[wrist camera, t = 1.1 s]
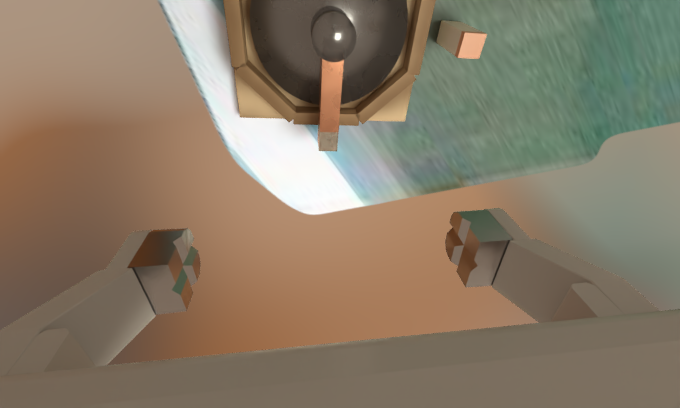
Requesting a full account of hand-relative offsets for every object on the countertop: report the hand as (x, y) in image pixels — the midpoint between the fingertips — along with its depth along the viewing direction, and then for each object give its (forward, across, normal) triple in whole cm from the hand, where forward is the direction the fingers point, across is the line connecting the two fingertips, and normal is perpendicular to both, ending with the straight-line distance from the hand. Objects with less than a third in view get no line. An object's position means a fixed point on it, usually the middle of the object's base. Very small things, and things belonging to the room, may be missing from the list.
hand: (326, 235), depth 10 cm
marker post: (+34, -17, -2) cm, 38 cm away
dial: (+33, -3, -1) cm, 33 cm away
